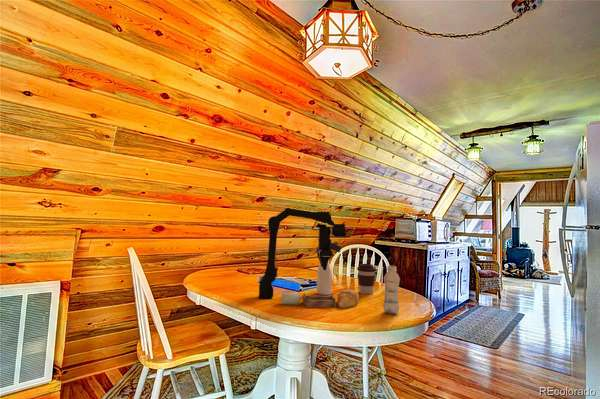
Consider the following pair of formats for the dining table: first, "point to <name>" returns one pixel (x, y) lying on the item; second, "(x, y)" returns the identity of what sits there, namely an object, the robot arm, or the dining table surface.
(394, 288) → the plastic bottle
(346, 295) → the croissant
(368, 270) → the coffee cup
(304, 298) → the tray
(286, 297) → the roll
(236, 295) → the dining table surface
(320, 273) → the milk bottle
